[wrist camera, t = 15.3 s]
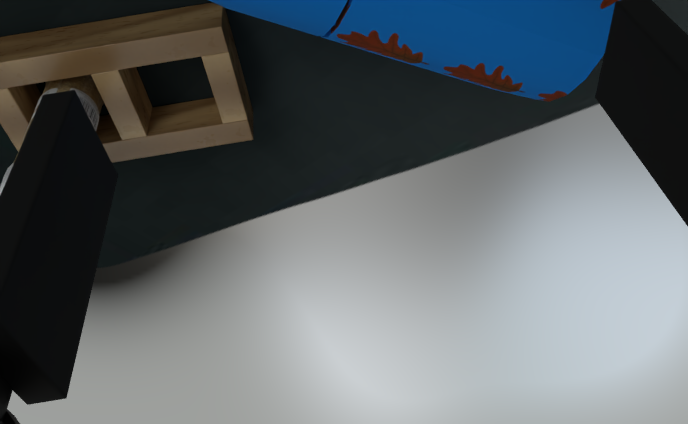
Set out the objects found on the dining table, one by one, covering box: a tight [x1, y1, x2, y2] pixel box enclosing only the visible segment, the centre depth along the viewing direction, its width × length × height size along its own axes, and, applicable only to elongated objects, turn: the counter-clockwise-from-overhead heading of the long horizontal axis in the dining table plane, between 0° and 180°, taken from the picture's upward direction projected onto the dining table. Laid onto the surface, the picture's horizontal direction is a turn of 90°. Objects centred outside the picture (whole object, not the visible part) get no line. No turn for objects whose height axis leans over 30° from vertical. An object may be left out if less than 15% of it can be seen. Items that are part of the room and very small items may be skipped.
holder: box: [0, 2, 253, 163], centre depth 47 cm, size 10×18×4 cm, turn 97°
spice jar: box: [0, 74, 104, 195], centre depth 44 cm, size 5×5×13 cm
